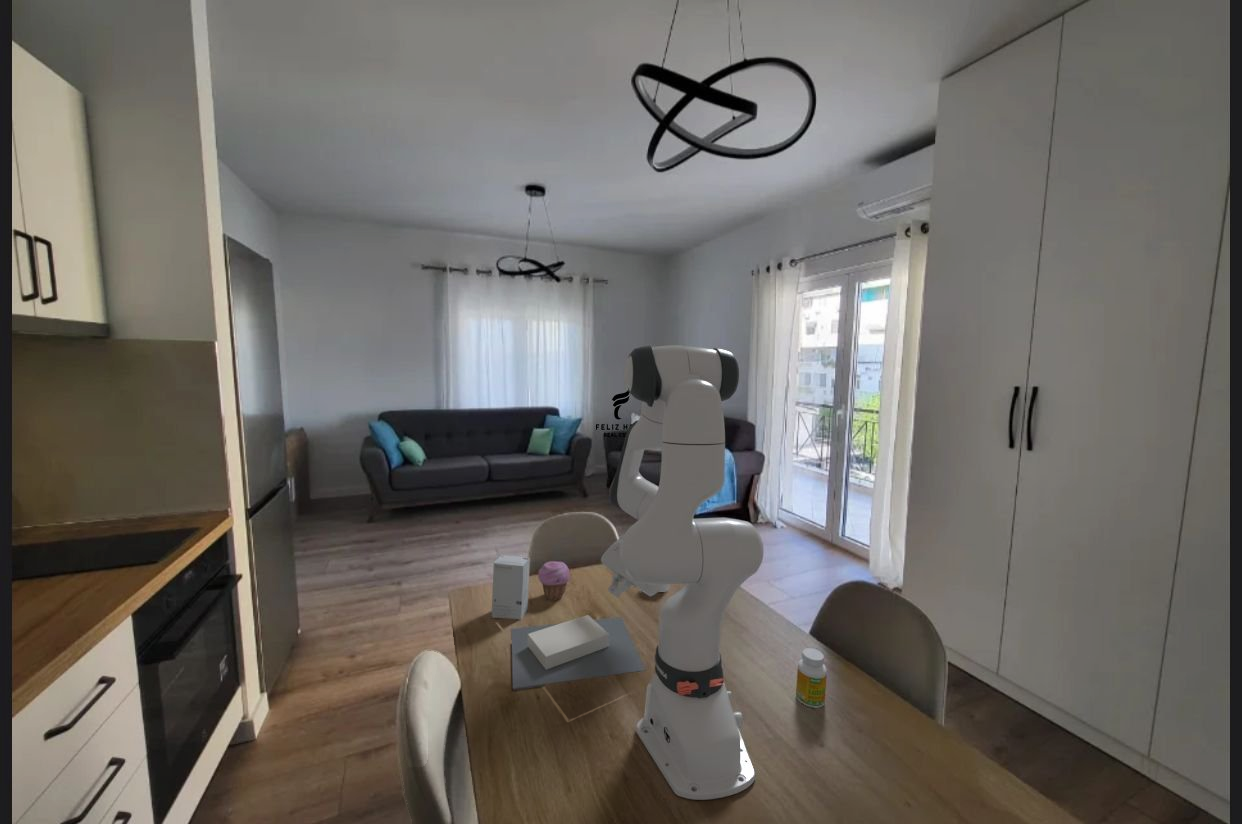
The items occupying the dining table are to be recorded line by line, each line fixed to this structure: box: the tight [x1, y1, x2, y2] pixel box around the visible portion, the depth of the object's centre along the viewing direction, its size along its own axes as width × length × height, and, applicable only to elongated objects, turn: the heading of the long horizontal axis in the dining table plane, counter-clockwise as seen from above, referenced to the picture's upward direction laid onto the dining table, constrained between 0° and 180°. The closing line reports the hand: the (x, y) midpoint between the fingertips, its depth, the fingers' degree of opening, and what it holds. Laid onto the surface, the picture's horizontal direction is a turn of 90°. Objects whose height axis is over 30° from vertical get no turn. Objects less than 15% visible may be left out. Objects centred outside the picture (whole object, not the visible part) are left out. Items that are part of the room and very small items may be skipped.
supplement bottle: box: [795, 647, 828, 709], centre depth 95 cm, size 5×5×10 cm
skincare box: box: [491, 554, 531, 621], centre depth 125 cm, size 8×6×15 cm
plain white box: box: [528, 614, 609, 670], centre depth 111 cm, size 3×10×16 cm
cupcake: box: [538, 561, 571, 601], centre depth 135 cm, size 9×9×10 cm
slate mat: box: [511, 616, 646, 691], centre depth 110 cm, size 22×28×1 cm
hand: (612, 594), depth 116 cm, fingers closed
